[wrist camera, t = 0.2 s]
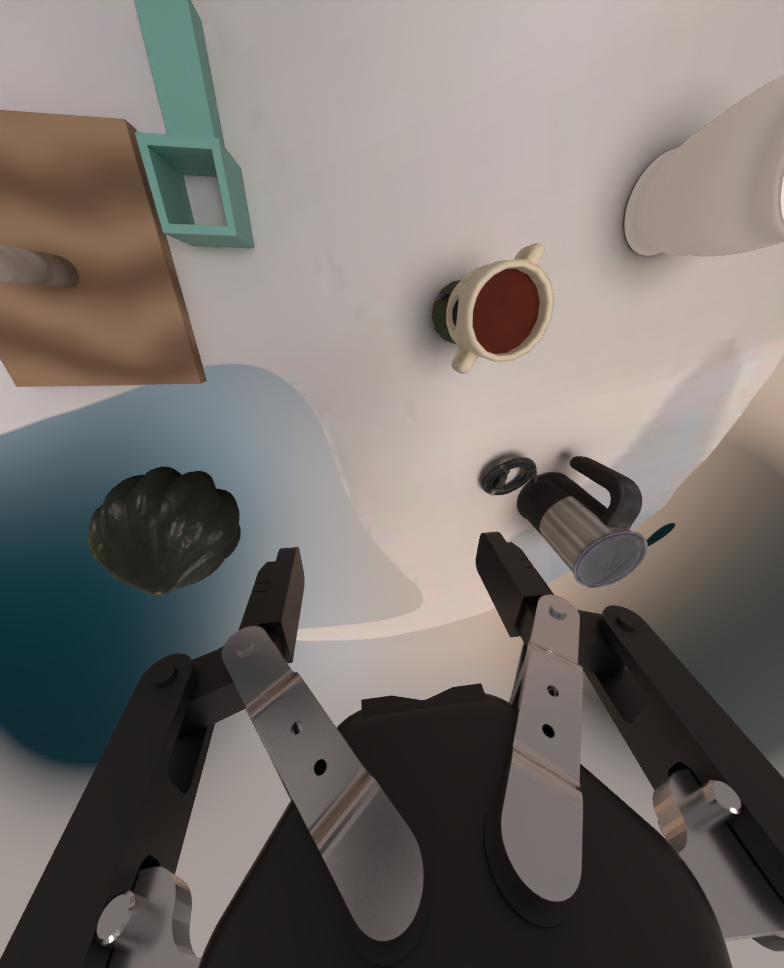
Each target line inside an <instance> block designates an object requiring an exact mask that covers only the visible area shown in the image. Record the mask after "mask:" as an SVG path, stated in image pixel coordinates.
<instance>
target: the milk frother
mask: <svg viewBox="0 0 784 968" xmlns="http://www.w3.org/2000/svg"><path fill="white" fill-rule="evenodd" d="M570 465H571V467H572V468H574V469H575V470H577V471H578V472H580V473H582V474H583V475H585V476H586V477H588V478H590V479H591V480H593V481H594V482H596V483H598V484H599V485H601V486H603V487H604V488H606V489H607V490H608V491H609V493H610V497H611V502H610V505H609V507H608V509H607V508H606V507H605V506H604V505H602V504H601V503H600V502H599V501H597V500H596V499H595V498H593V497H592V496H591V495H590V494H589V493H587V492H586V491H585V490H584V489H582V488H581V487H580V486H579V485H577V484H576V483H575V482H574V481H572V480H571V479H569V478H568V477H567V476H565V475H564V474H560V473H546V474H543V475H541V476H538V477H537V470H536V469H537V468H536V465H535V463H534V462H533V460H531V459H529V458H515V459H512V460H508V461H506V462H504V463H502V464H500V465H498V466H496V467H495V468H493V469H492V470H490V471H489V472H488V473H487V474H486V475H485V477H484V479H483V481H482V487H483V489H484V491H485V492H487V493H489V494H490V495H492V496H493V495H504V494H508V493H510V492H512V491H514V490H517V489H518V488H520V487H521V486H523V485H524V484H525V483H526V482H528V481H529V479H530V478H531V477H532V476H533V475H534V477H533V480H532V481H530V482H529V483H528V484H527V485H526V486H525V487H524V489H523V490H522V492H521V493H520V496H519V498H518V510H519V512H520V514H521V515H522V516H523V517H524V518H526V519H527V520H528V521H529V522H530V523H531V524H532V525H533V526H534V527H535V528H536V529H537V531H538V532H539V533H540V534H541V535H542V537H543V538H544V539H545V540H546V541H547V542H548V544H549V545H550V546H551V547H552V548H553V550H554V551H555V552H556V553H557V554H558V555H559V557H560V558H561V559H562V560H563V561H564V562H565V564H566V565H567V566H568V567H569V568H570V570H571V571H572V572H573V573H574V577H575V579H576V581H577V582H578V583H580V584H581V585H584V586H586V587H589V588H590V587H591V588H596V587H601V586H606V585H610V584H613V583H615V582H617V581H619V580H621V579H623V578H624V577H626V576H627V575H628V574H630V573H631V572H632V571H634V570H635V568H636V567H637V566H638V565H639V564H640V563H641V562H642V560H643V558H644V557H645V555H646V551H647V541H646V539H645V538H644V537H643V536H642V535H641V534H639V533H636V532H632V531H631V530H629V528H630V527H631V525H632V524H633V522H634V521H635V519H636V518H637V516H638V515H639V513H640V510H641V507H642V495H641V492H640V490H639V487H638V486H637V485H636V484H635V482H634V481H632V480H631V479H629V478H628V477H626V476H624V475H622V474H620V473H618V472H616V471H614V470H612V469H610V468H608V467H606V466H604V465H602V464H600V463H598V462H596V461H594V460H592V459H590V458H587V457H582V456H576V457H573V458H572V460H571V461H570ZM516 467H523V468H525V473H524V475H523V476H522V477H521V478H520V479H519V480H518V481H516V482H515V483H513V484H511V485H509V486H506V487H503V486H504V484H505V481H506V479H507V475H508V473H510V469H513V468H516Z"/></svg>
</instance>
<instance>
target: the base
mask: <svg viewBox="0 0 784 968" xmlns="http://www.w3.org/2000/svg"><path fill="white" fill-rule="evenodd" d="M135 132H137V131H136V129H135V128H134V127H133V126H132V125H130V124H129V123H128V122H127V121H126V120H125V119H114V118H101V117H87V116H73V115H60V114H46V113H33V112H19V111H6V110H0V359H1V361H2V363H3V364H4V366H5V368H6V369H7V371H8V373H9V375H10V376H11V378H12V380H13V381H14V383H15V385H16V387H27V386H86V385H145V384H201V383H203V382H205V381H206V377H205V374H204V370H203V366H202V363H201V359H200V356H199V352H198V349H197V345H196V341H195V338H194V334H193V331H192V327H191V324H190V320H189V317H188V313H187V309H186V306H185V302H184V299H183V295H182V292H181V288H180V285H179V281H178V277H177V274H176V270H175V267H174V263H173V260H172V256H171V252H170V249H169V245H168V242H167V238H166V235H165V234H164V233H163V231H162V227H161V223H160V220H159V216H158V213H157V209H156V206H155V202H154V199H153V195H152V192H151V188H150V185H149V181H148V178H147V174H146V171H145V167H144V163H143V160H142V156H141V153H140V149H139V146H138V142H137V139H136V135H135Z"/></svg>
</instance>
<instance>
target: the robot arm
mask: <svg viewBox="0 0 784 968" xmlns="http://www.w3.org/2000/svg"><path fill="white" fill-rule="evenodd" d="M476 567H477V571H478V573H479V575H480V577H481V579H482V581H483V583H484V585H485V587H486V589H487V591H488V593H489V595H490V597H491V599H492V601H493V603H494V605H495V607H496V609H497V611H498V613H499V616H500V618H501V620H502V622H503V624H504V626H505V628H506V630H507V632H508V634H509V636H510V637H518V636H521V638H522V640H523V645H522V649H521V654H520V658H519V663H518V667H517V672H516V677H515V682H514V686H513V690H512V694H511V697H510V701H509V702H507V701H505V700H503V699H501V698H499V697H496V696H493V695H490V694H486V693H484V690H483V687H482V685H481V684H474V685H466V686H458V687H452V688H450V689H448V690H446V691H444V692H442V693H440V694H438V695H435V696H433V697H431V698H429V699H426V700H417V699H411V698H404V697H397V696H385V697H379V698H371V699H363V700H361V702H362V710H360V711H358V712H356V713H354V714H353V715H351V716H349V717H348V718H347V719H345V720H344V721H343V722H342V723H341V724H340V725H339V726H338V727H337V728H336V727H335V725H334V724H333V722H332V721H331V720H330V718H329V716H328V715H327V714H326V712H325V711H324V709H323V708H322V706H321V705H320V703H319V702H318V701H317V699H316V698H315V696H314V695H313V693H312V692H311V690H310V689H309V687H308V686H307V685H306V683H305V682H304V680H303V679H302V677H301V676H300V675H299V674H298V673H297V672H295V673H294V672H293V671H292V670H291V668H290V667H289V665H288V664H287V663H292V662H293V656H294V649H295V642H296V636H297V630H298V623H299V617H300V610H301V604H302V598H303V590H304V571H303V566H302V561H301V556H300V550H299V548H298V547H294V548H282V549H279V552H278V555H277V559H276V561H274V562H266V564H265V565H264V566H263V567H262V568H261V569H260V571H259V572H258V575H257V577H256V580H255V585H254V587H253V589H252V594H251V595H250V598H249V601H248V604H247V607H246V610H245V613H244V616H243V619H242V622H241V625H240V627H239V630H238V631H237V632H235V633H234V634H233V635H232V636H230V638H229V639H228V640H227V641H226V642H225V644H224V646H223V647H221V648H219V649H218V650H215V651H213V652H211V653H208V654H206V655H203V656H200V657H198V658H195V659H193V660H191V658H190V657H189V656H187V655H185V654H172V655H169V656H167V657H165V658H162V659H160V660H159V661H157V662H156V663H155V664H153V665H152V666H151V667H150V668H149V669H148V670H147V671H146V672H145V673H144V674H143V676H142V677H141V679H140V681H139V682H138V685H137V686H136V688H135V691H134V693H133V695H132V696H131V699H130V701H129V702H128V705H127V707H126V708H125V711H124V713H123V714H122V717H121V719H120V720H119V723H118V725H117V727H116V728H115V730H114V733H113V734H112V736H111V738H110V740H109V743H108V744H107V747H106V749H105V751H104V753H103V755H102V757H101V759H100V761H99V763H98V765H97V767H96V769H95V771H94V773H93V775H92V777H91V779H90V781H89V783H88V785H87V787H86V789H85V791H84V793H83V795H82V797H81V799H80V801H79V803H78V805H77V807H76V809H75V811H74V813H73V815H72V817H71V819H70V821H69V823H68V825H67V827H66V829H65V831H64V833H63V835H62V837H61V839H60V841H59V843H58V845H57V847H56V849H55V851H54V853H53V855H52V857H51V859H50V861H49V863H48V865H47V867H46V869H45V871H44V873H43V875H42V877H41V879H40V881H39V883H38V885H37V887H36V889H35V891H34V893H33V895H32V897H31V899H30V901H29V903H28V905H27V907H26V909H25V911H24V913H23V915H22V917H21V919H20V921H19V923H18V925H17V927H16V929H15V931H14V933H13V935H12V937H11V939H10V941H9V943H8V945H7V947H6V949H5V951H4V953H3V955H2V957H1V959H0V968H732V964H731V961H730V958H729V954H728V951H727V947H726V944H725V941H731V940H739V939H747V938H752V939H754V940H755V941H756V942H758V943H759V944H761V945H762V946H764V947H766V948H768V949H771V950H773V951H784V778H783V777H782V776H781V775H780V774H779V772H778V771H777V770H776V769H775V768H774V767H773V766H772V765H771V763H770V762H769V761H768V760H767V759H766V758H765V757H764V755H763V754H762V753H761V752H760V751H759V750H758V749H757V748H756V746H755V745H754V744H753V743H752V742H751V741H750V740H749V739H748V738H747V736H746V735H745V734H744V733H743V732H742V731H741V729H740V728H739V727H738V726H737V725H736V724H735V723H734V722H733V720H732V719H731V718H730V717H729V716H728V715H727V714H726V713H725V711H724V710H723V709H722V708H721V707H720V706H719V705H718V703H717V702H716V701H715V700H714V699H713V698H712V697H711V696H710V695H709V693H708V692H707V691H706V690H705V689H704V688H703V686H702V685H701V684H700V683H699V682H698V681H697V680H696V679H695V677H694V676H693V675H692V674H691V673H690V672H689V671H688V669H687V668H686V667H685V666H684V665H683V664H682V663H681V662H680V660H679V659H678V658H677V657H676V656H675V655H674V654H673V653H672V651H671V650H670V649H669V648H668V647H667V646H666V645H665V643H664V642H663V641H662V640H661V639H660V638H659V637H658V636H657V635H656V633H655V632H654V631H653V630H652V629H651V628H650V626H649V625H648V624H647V623H646V622H645V621H644V620H643V619H642V618H641V617H640V616H639V615H637V614H636V613H634V612H633V611H631V610H629V609H627V608H624V607H620V606H608V607H606V608H605V609H604V610H603V612H602V614H597V613H592V612H586V611H580V610H577V609H576V608H575V606H574V605H572V604H571V603H570V602H569V601H567V600H566V599H564V598H562V597H559V596H556V595H554V594H553V593H552V591H551V590H550V588H549V587H548V585H547V584H546V583H545V581H544V580H543V579H542V577H541V576H540V574H539V573H538V572H537V570H536V569H535V568H534V567H533V565H532V563H531V562H530V561H529V560H528V558H527V556H526V555H525V554H524V552H523V551H522V550H521V549H520V548H519V547H517V546H516V545H515V544H513V543H512V542H508V543H507V542H506V541H505V539H504V538H503V536H502V535H501V533H500V532H488V533H481V535H480V539H479V544H478V549H477V555H476ZM583 671H584V672H585V674H586V676H587V677H588V679H589V681H590V682H591V684H592V686H593V687H594V689H595V690H596V692H597V694H598V696H599V697H600V699H601V701H602V702H603V704H604V706H605V708H606V709H607V711H608V712H609V714H610V716H611V718H612V719H613V721H614V723H615V724H616V726H617V728H618V729H619V731H620V733H621V734H622V736H623V738H624V740H625V741H626V743H627V745H628V746H629V748H630V750H631V751H632V753H633V755H634V756H635V758H636V760H637V761H638V763H639V765H640V766H641V768H642V770H643V771H644V773H645V775H646V776H647V778H648V780H649V782H650V783H651V785H652V787H653V788H654V793H653V806H654V810H655V813H656V815H657V818H658V824H659V828H660V830H661V832H662V834H663V835H664V836H665V838H664V837H663V836H662V835H661V834H660V833H659V832H658V831H657V830H655V829H654V828H653V827H652V826H651V825H650V824H649V823H648V822H646V821H645V820H644V819H643V818H642V817H641V816H640V815H638V814H637V813H636V812H635V811H634V810H633V809H632V808H630V807H629V806H628V805H627V804H626V803H625V802H624V801H623V800H621V799H620V798H619V797H618V796H617V795H615V794H614V793H613V792H612V791H611V790H610V789H609V788H608V787H606V786H605V785H604V784H603V783H602V782H601V781H600V780H599V779H597V778H596V777H595V776H594V775H593V774H592V773H591V772H589V771H588V770H587V769H586V768H585V767H584V766H583V765H581V764H580V749H581V719H582V689H583ZM243 709H246V711H247V713H248V715H249V717H250V719H251V721H252V723H253V724H254V727H255V729H256V731H257V733H258V735H259V737H260V739H261V741H262V743H263V745H264V747H265V749H266V751H267V753H268V755H269V757H270V759H271V761H272V763H273V765H274V767H275V769H276V771H277V773H278V776H279V777H280V780H281V782H282V784H283V786H284V788H285V790H286V791H287V794H288V795H289V798H290V800H291V801H290V803H289V805H288V806H287V808H286V810H285V812H284V813H283V815H282V816H281V818H280V820H279V821H278V823H277V825H276V827H275V828H274V830H273V831H272V833H271V835H270V836H269V838H268V840H267V841H266V843H265V845H264V846H263V848H262V850H261V852H260V853H259V855H258V857H257V858H256V860H255V862H254V863H253V865H252V867H251V868H250V870H249V871H248V873H247V875H246V876H245V878H244V880H243V882H242V883H241V885H240V887H239V888H238V890H237V892H236V893H235V895H234V897H233V898H232V900H231V902H230V903H229V905H228V907H227V908H226V910H225V912H224V913H223V915H222V917H221V918H220V920H219V922H218V924H217V925H216V927H215V929H214V931H213V933H212V935H211V937H210V940H209V942H208V944H207V946H206V948H205V951H204V953H203V956H202V958H197V957H196V955H195V953H194V952H193V950H192V946H191V943H190V935H189V929H190V918H191V910H192V897H191V892H190V889H189V887H188V885H187V883H186V882H184V881H183V880H182V879H180V878H179V877H178V876H176V875H175V872H176V868H177V864H178V860H179V857H180V853H181V849H182V845H183V842H184V838H185V834H186V830H187V827H188V823H189V819H190V816H191V812H192V808H193V804H194V800H195V797H196V793H197V789H198V785H199V782H200V777H201V774H202V770H203V766H204V762H205V759H206V755H207V751H208V748H209V744H210V740H211V737H212V733H213V729H214V725H215V723H216V722H218V721H220V720H223V719H224V718H226V717H229V716H231V715H233V714H235V713H237V712H239V711H241V710H243Z"/></svg>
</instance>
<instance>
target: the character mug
mask: <svg viewBox="0 0 784 968" xmlns="http://www.w3.org/2000/svg"><path fill="white" fill-rule="evenodd" d="M544 251H545V249H544V245H543V244H539V243H536V244H533V245H530V246H527V247H524V248H523V249H522V250H520V251H519V252H518V254H517V255H516V257H515V258H514V260H504V261H497V262H495V263H492V264H489V265H484V266H482V267H480V268H477V269H475V270H474V271H472V272H470V273H469V274H467V275H466V276H465V277H464V278H463V279H462V280H460V281H454V282H451V283H450V284H449V285H447V286H446V287H445V288H443V289H442V290H441V292H440V293H446V295H445V296H444V297H443V298H442V301H435V303H434V308H433V321H434V325H435V328H436V331H437V332H438V333H439V334H440V335H441V337H442V338H443V339H444V340H446V341H449V342H452V343H454V344H457V345H458V346H459V347H460V349H459V351H458V353H457V354H456V356H455V357H454V359H453V362H452V364H451V365H452V368H453V369H454V370H455V371H457V372H459V373H462V374H465V373H467V372H468V371H469V370H470V369H471V367H472V366H473V364H474V362H475V361H476V359H477V358H478V356H480V357H483V358H486V359H489V360H492V361H494V362H501V361H511V360H515V359H517V358H519V357H521V356H523V355H525V354H526V353H528V352H530V350H531V349H532V348H533V347H534V346H535V345H536V344H537V343H538V342H539V341H540V340H541V339H542V338H543V336H544V334H545V332H546V329H547V327H548V325H549V323H550V321H551V317H552V311H553V305H554V296H553V290H552V285H551V281H550V279H549V278H548V276H547V275H546V273H545V272H544V270H543V269H542V267H541V266H539V265H537V263H538V262H539V260H540V258H541V257H542V255H543V253H544Z"/></svg>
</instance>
